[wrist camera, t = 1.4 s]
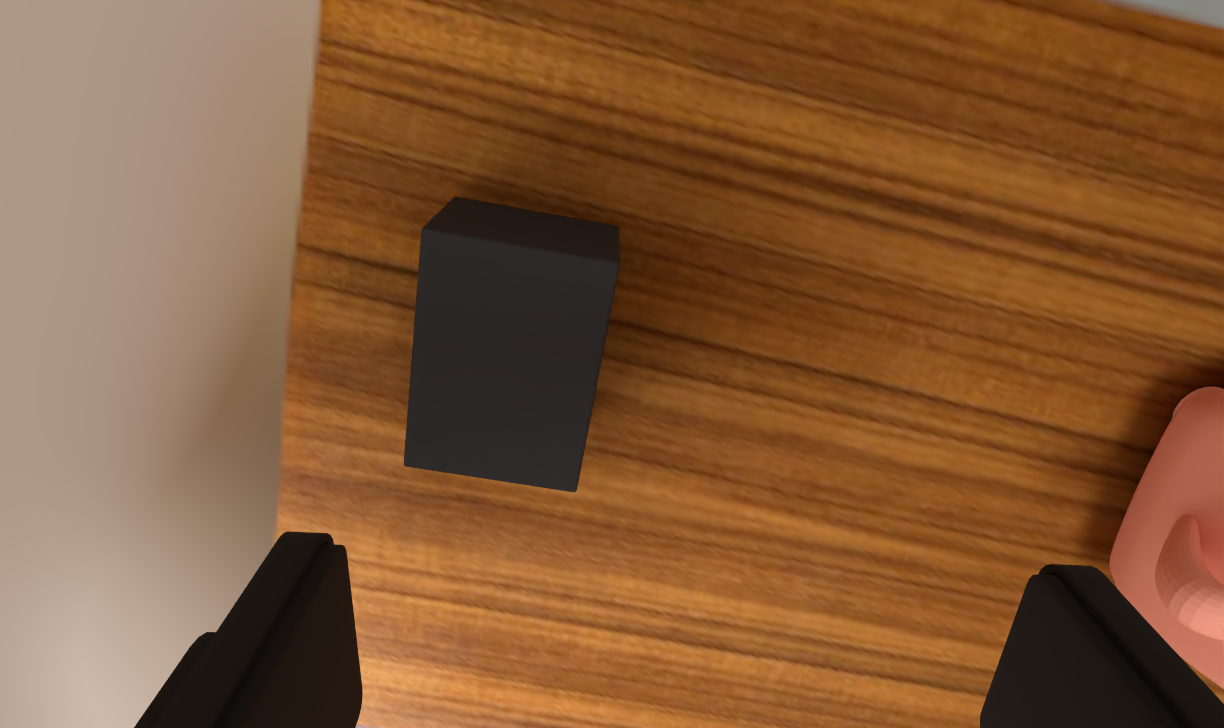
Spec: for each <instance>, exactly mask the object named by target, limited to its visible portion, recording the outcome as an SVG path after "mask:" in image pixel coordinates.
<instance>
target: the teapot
mask: <svg viewBox="0 0 1224 728" xmlns="http://www.w3.org/2000/svg"><path fill="white" fill-rule="evenodd" d="M1109 566H1110V569H1111V573H1112V576H1113V579H1114V582H1115V584H1116V587H1117V589H1118V590H1119V591H1120V592H1121V593H1122V595H1123V596H1124V597H1125V598H1126V599H1127V600H1128V601H1129V602H1130V603H1131V604H1132V605H1133V606H1134V607H1135V609H1136V610H1137V611H1138V612H1139V613H1140V614H1141V615H1142V616H1143V617H1144V618H1145V619H1146V620H1147V622H1148V623H1149V624H1150V625H1151V626H1152V627H1153V628H1154V629H1155V630H1156V631H1157V632H1158V633H1159V635H1160V636H1161V637H1162V638H1163V639H1164V640H1165V641H1166V642H1167V643H1168V644H1169V645H1170V646H1171V648H1172V649H1173V650H1174V651H1175V652H1176V653H1177V654H1178V655H1179V656H1180V657H1181V658H1183V659H1184V660H1185V661H1187V662H1188V663H1189V664H1190V665H1192V666H1193V667H1194V668H1195V669H1197V670H1198V671H1199V672H1201V673H1202V674H1203V675H1205V676H1206V677H1207V678H1209V679H1210V680H1212V681H1213V682H1214V683H1216V684H1217V685H1219V686H1220V687H1221V688H1223V689H1224V389H1222V388H1220V387H1203V388H1200V389H1197V390H1195V391H1193V392H1191V393H1190V394H1188V395H1187V396H1185V397H1184V398H1183V399H1182V400H1181V401H1180V402H1179V403H1178V405H1177V406H1176V408H1175V410H1174V413H1173V416H1172V420H1171V422H1170V423H1169V425H1168V427H1167V429H1166V430H1165V432H1164V434H1163V436H1162V438H1161V440H1160V442H1159V444H1158V446H1157V448H1156V450H1155V452H1154V453H1153V455H1152V457H1151V459H1150V461H1149V463H1148V465H1147V467H1146V470H1145V472H1144V474H1143V476H1142V478H1141V480H1140V482H1139V484H1138V486H1137V488H1136V491H1135V493H1134V495H1133V498H1132V500H1131V502H1130V505H1129V507H1128V509H1127V512H1126V514H1125V517H1124V519H1123V522H1122V524H1121V527H1120V529H1119V532H1118V534H1117V537H1116V540H1115V543H1114V546H1113V549H1112V552H1111V555H1110V562H1109Z"/></svg>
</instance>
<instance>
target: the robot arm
mask: <svg viewBox="0 0 1224 728" xmlns="http://www.w3.org/2000/svg"><path fill="white" fill-rule="evenodd" d="M361 704H362V682H361V673H360V665H359V656H358V647H357V638H356V630H355V621H354V612H353V604H352V595H351V586H350V578H349V569H348V560H347V553H346V549H345V547H344V546H343V545H334V542H333V538H332V537H331V535H330V534H328V533H307V532H285V533H283V534H282V535H281V536H280V538H279V539H278V540H277V542H276V543H275V545H274V546H273V548H272V549H271V551H270V552H269V554H268V555H267V557H266V558H265V560H264V561H263V563H262V564H261V566H260V567H259V569H258V570H257V572H256V573H255V575H254V576H253V578H252V580H251V581H250V582H249V584H248V585H247V587H246V588H245V590H244V591H243V593H242V594H241V596H240V597H239V599H238V600H237V602H236V603H235V605H234V606H233V608H232V609H231V611H230V613H229V614H228V615H227V617H226V618H225V620H224V621H223V623H222V624H221V626H220V627H219V629H218V630H217V632H206V633H205V634H203V635H202V636H200V637H198V638H197V640H196V641H195V642H194V643H193V644H192V645H191V647H190V648H189V649H188V651H187V652H186V654H185V655H184V656H183V658H182V660H181V661H180V662H179V664H178V665H177V667H176V668H175V670H174V671H173V673H172V674H171V675H170V677H169V678H168V680H167V681H166V682H165V684H164V685H163V687H162V688H161V690H160V691H159V692H158V694H157V695H156V697H155V698H154V700H153V701H152V703H151V704H150V706H149V707H148V708H147V710H146V711H145V713H144V714H143V716H142V717H141V718H140V720H139V721H138V723H137V724H136V726H135V727H134V728H355V726H356V724H357V721H358V718H359V714H360V710H361ZM980 728H1224V704H1223V703H1222V702H1221V701H1220V700H1219V698H1218V697H1217V696H1216V695H1215V694H1214V693H1213V692H1212V691H1211V690H1210V689H1209V688H1208V687H1207V685H1206V684H1205V683H1204V682H1203V681H1202V680H1201V679H1200V678H1199V677H1198V676H1197V675H1196V674H1195V672H1194V671H1193V670H1192V669H1191V668H1190V667H1189V666H1188V665H1187V664H1186V663H1185V662H1184V661H1183V659H1182V658H1181V657H1180V656H1179V655H1178V654H1177V653H1176V652H1175V651H1174V650H1173V649H1172V648H1171V646H1170V645H1169V644H1168V643H1167V642H1166V641H1165V640H1164V639H1163V638H1162V637H1161V636H1160V635H1159V633H1158V632H1157V631H1156V630H1155V629H1154V628H1153V627H1152V626H1151V625H1150V624H1149V623H1148V622H1147V620H1146V619H1145V618H1144V617H1143V616H1142V615H1141V614H1140V613H1139V612H1138V611H1137V610H1136V609H1135V607H1134V606H1133V605H1132V604H1131V603H1130V602H1129V601H1128V600H1127V599H1126V598H1125V597H1124V596H1123V595H1122V593H1121V592H1120V591H1119V590H1118V589H1117V588H1116V587H1115V586H1114V585H1113V584H1112V583H1111V582H1110V580H1109V579H1108V578H1107V577H1106V576H1105V575H1104V574H1103V573H1102V572H1101V571H1099V570H1098V569H1097V568H1095V567H1092V566H1080V565H1057V564H1051V565H1046V566H1045V567H1043V568H1042V569H1041V571H1040V572H1039V574H1038V575H1033V576H1032V577H1031V578H1030V579H1029V581H1028V583H1027V585H1026V588H1025V591H1024V594H1023V596H1022V599H1021V602H1020V605H1019V608H1018V610H1017V613H1016V616H1015V619H1014V622H1013V624H1012V627H1011V630H1010V633H1009V636H1008V638H1007V641H1006V644H1005V647H1004V650H1003V652H1002V655H1001V658H1000V661H999V664H998V666H997V669H996V672H995V675H994V678H993V680H992V683H991V686H990V689H989V692H988V694H987V697H986V700H985V703H984V706H983V708H982V711H981V716H980Z"/></svg>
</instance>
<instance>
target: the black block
mask: <svg viewBox="0 0 1224 728" xmlns="http://www.w3.org/2000/svg"><path fill="white" fill-rule="evenodd" d="M619 266H620V254H619V228H618V227H617V226H613V225H608V224H602V223H597V222H591V221H586V220H580V219H574V218H569V217H563V216H558V215H552V214H547V213H541V212H535V211H530V210H524V209H519V208H513V207H508V206H502V205H497V204H491V203H485V202H480V201H474V200H469V199H463V198H458V197H454V198H453V199H452V200H451V201H450V202H449V203H448V204H447V205H446V206H445V207H444V208H443V209H442V210H441V211H440V212H439V213H437V214H436V215H435V216H434V217H433V218H432V219H431V220H430V221H429V222H428V223H427V224H426V225H425V226H424V227H423V228H422V231H421V244H420V257H419V270H418V283H417V297H416V310H415V323H414V336H413V349H412V362H411V375H410V388H409V401H408V414H407V427H406V440H405V454H404V466H406V467H413V468H419V469H426V470H432V471H439V472H445V473H452V474H458V475H465V476H471V477H478V478H484V479H491V480H498V481H504V482H511V483H517V484H524V485H530V486H537V487H543V488H550V489H556V490H563V491H569V492H576V490H577V486H578V481H579V476H580V471H581V465H582V460H583V455H584V450H585V444H586V439H587V434H588V429H589V424H590V418H591V413H592V408H593V403H594V397H595V392H596V387H597V382H598V376H599V371H600V366H601V361H602V355H603V350H604V345H605V340H606V335H607V329H608V324H609V319H610V314H611V308H612V303H613V298H614V293H615V287H616V282H617V277H618V272H619Z"/></svg>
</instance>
